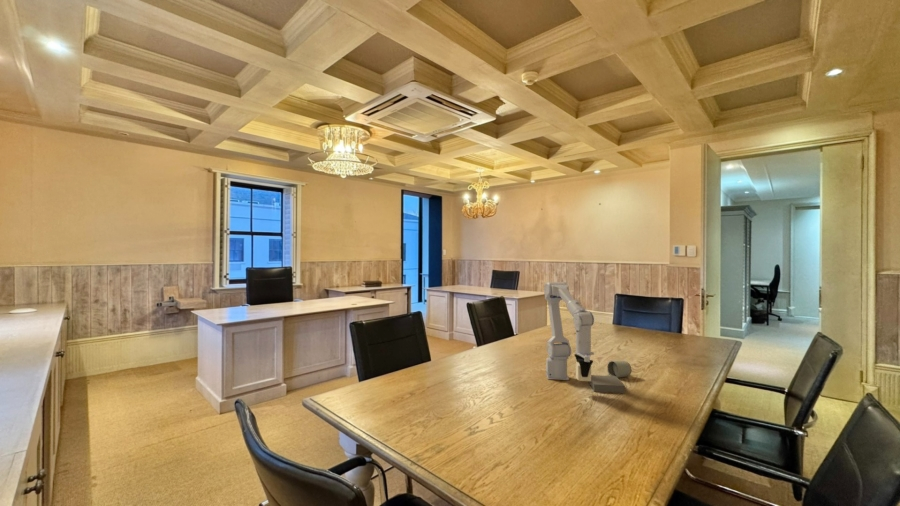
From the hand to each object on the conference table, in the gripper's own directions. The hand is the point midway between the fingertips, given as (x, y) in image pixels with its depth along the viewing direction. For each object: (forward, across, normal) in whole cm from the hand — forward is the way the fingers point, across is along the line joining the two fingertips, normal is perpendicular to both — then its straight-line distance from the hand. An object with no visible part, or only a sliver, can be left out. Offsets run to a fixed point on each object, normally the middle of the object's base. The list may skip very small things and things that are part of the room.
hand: (583, 374), depth 150 cm
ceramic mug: (+8, +25, -20) cm, 34 cm away
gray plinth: (+8, +9, -11) cm, 16 cm away
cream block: (+2, 0, 0) cm, 2 cm away
